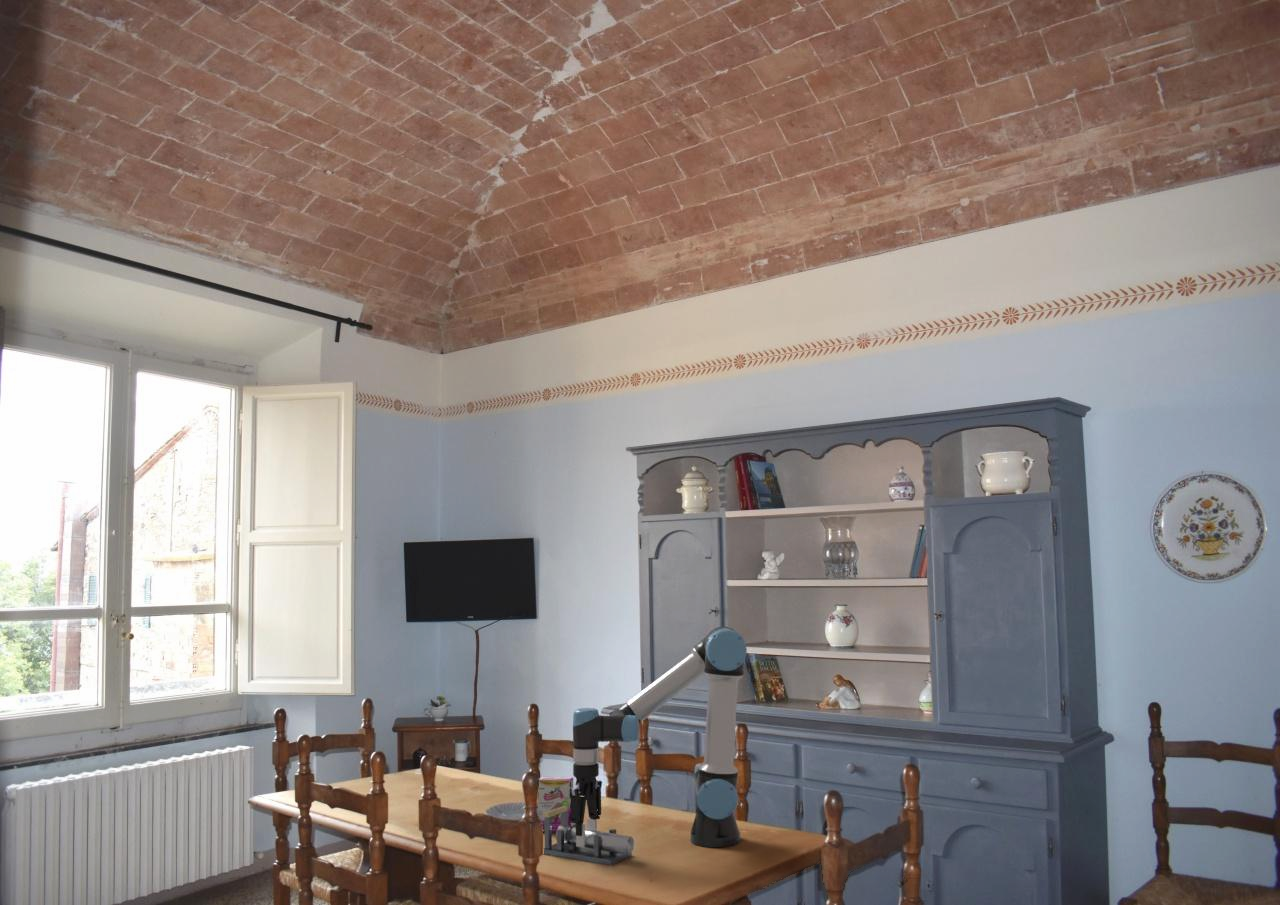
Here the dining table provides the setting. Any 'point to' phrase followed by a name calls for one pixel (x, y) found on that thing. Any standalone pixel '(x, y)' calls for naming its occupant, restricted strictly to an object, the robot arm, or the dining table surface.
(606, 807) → the dining table surface
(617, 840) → the tube
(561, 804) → the candy bar box
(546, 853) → the collar board
